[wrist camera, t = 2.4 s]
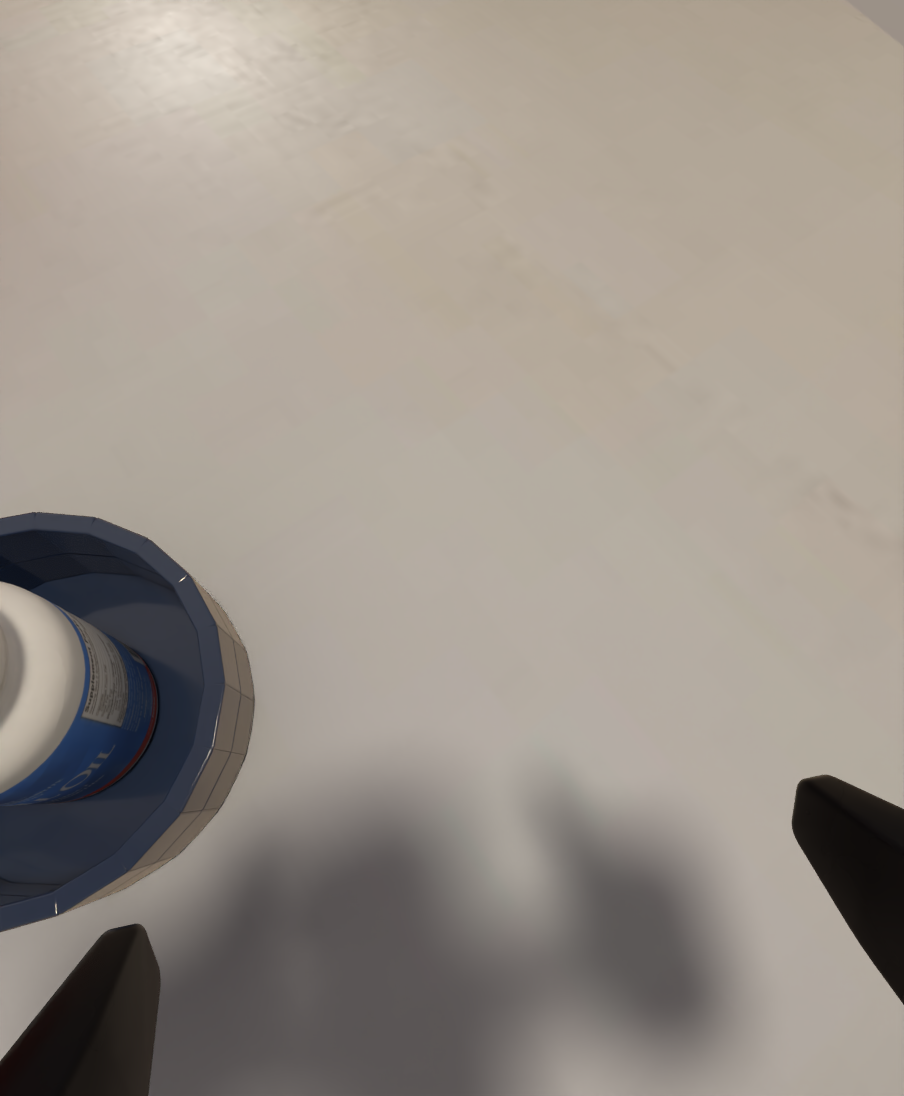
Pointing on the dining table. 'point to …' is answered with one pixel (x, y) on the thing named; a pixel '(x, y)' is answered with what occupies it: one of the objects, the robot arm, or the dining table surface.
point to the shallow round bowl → (181, 726)
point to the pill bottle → (66, 703)
